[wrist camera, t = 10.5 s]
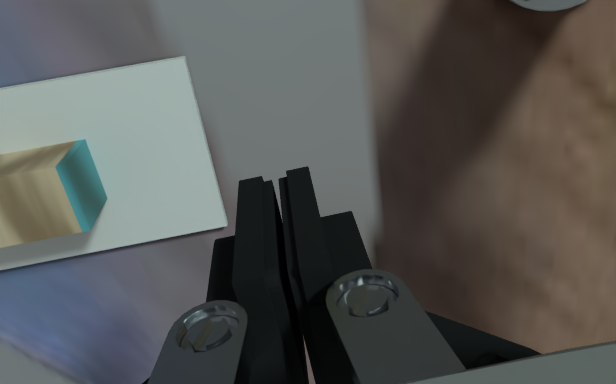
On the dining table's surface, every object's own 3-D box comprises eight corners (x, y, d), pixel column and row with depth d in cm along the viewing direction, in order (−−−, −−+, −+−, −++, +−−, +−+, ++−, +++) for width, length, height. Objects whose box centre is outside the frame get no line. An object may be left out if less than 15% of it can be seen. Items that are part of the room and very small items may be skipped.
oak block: (64, 165, 32) (-94, 194, 31) (90, 230, 34) (-57, 258, 34) (85, 139, 36) (-54, 164, 36) (107, 198, 39) (-23, 222, 38)
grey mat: (185, 55, 35) (184, 57, 35) (227, 221, 42) (227, 225, 41) (-129, 110, 34) (-137, 113, 34) (-37, 272, 41) (-41, 278, 40)
